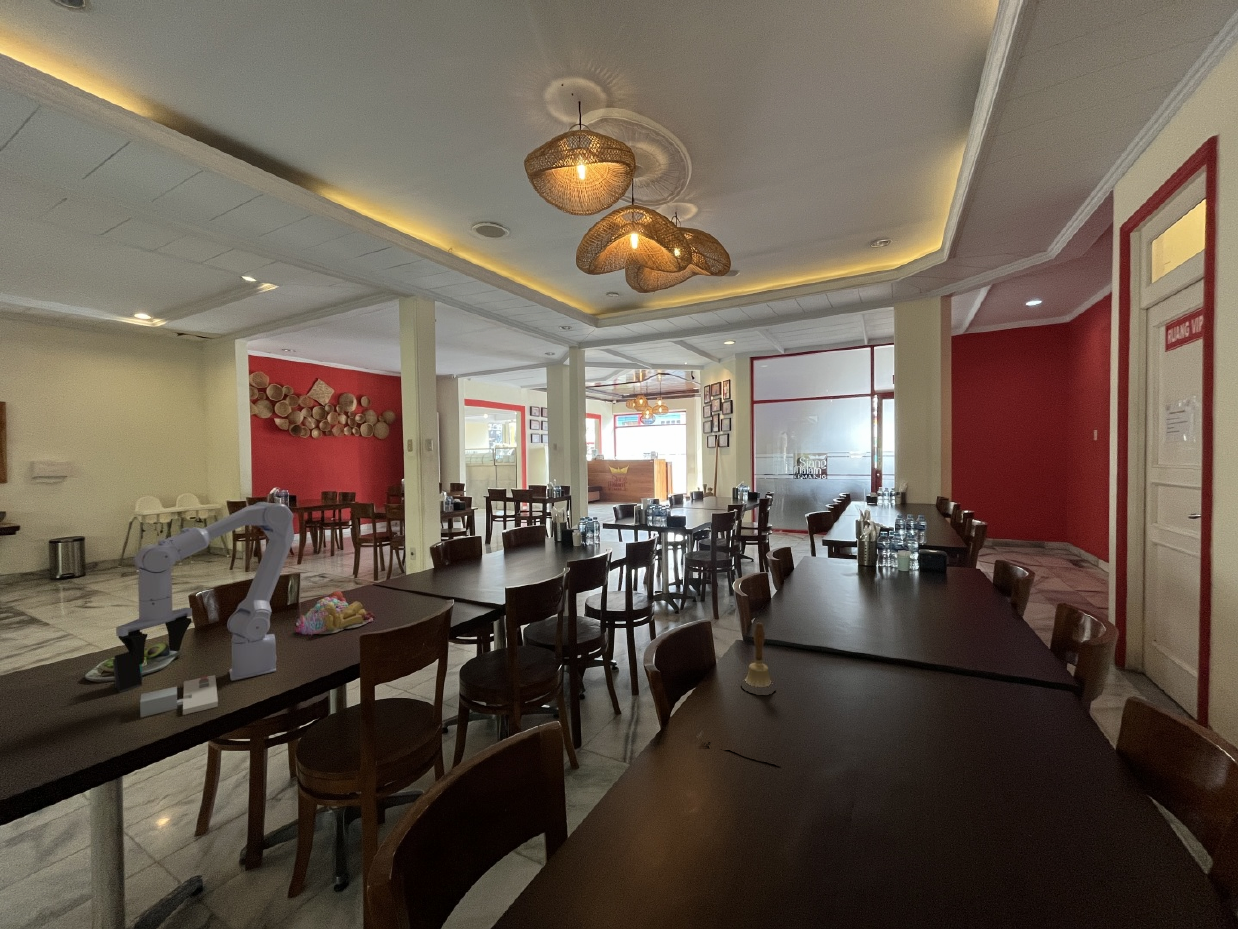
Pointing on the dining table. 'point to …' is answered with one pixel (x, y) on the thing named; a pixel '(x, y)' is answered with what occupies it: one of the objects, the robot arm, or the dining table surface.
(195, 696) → the power strip
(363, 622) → the candy landscape model
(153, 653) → the salad plate
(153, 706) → the charger
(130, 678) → the speaker
